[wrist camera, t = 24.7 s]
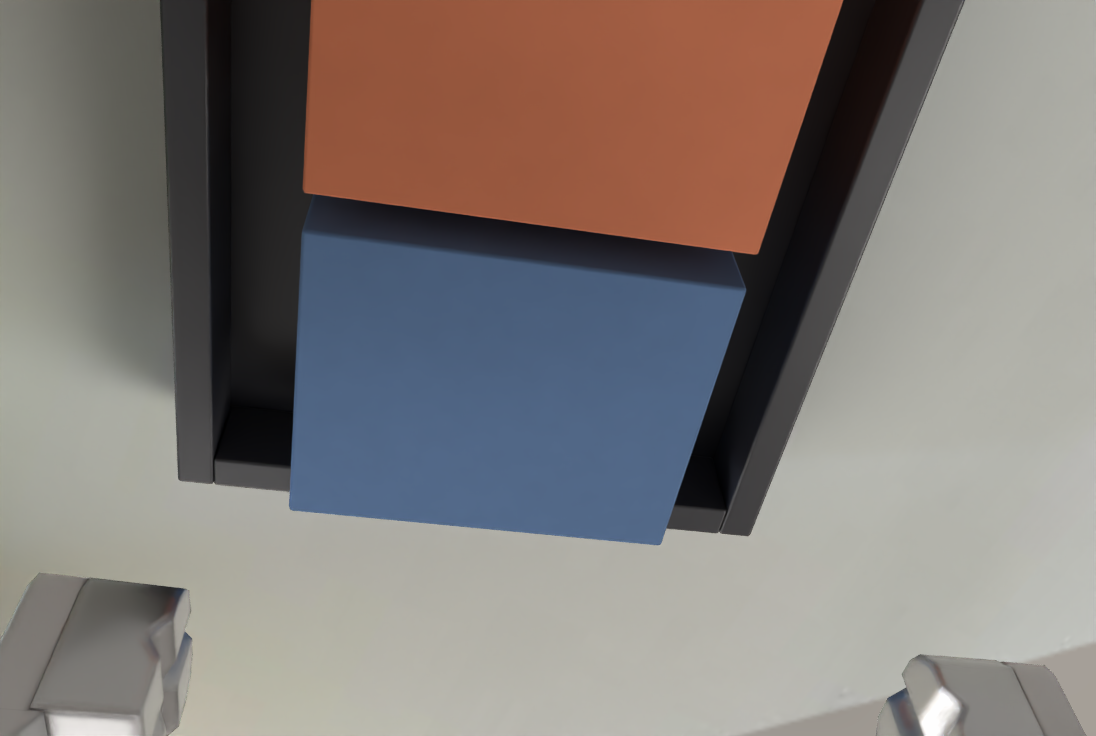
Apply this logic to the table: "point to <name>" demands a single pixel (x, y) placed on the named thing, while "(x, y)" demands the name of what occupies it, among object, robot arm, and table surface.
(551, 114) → the pad
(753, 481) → the backing tray
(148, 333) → the table surface
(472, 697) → the table surface
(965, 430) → the table surface
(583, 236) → the pad
